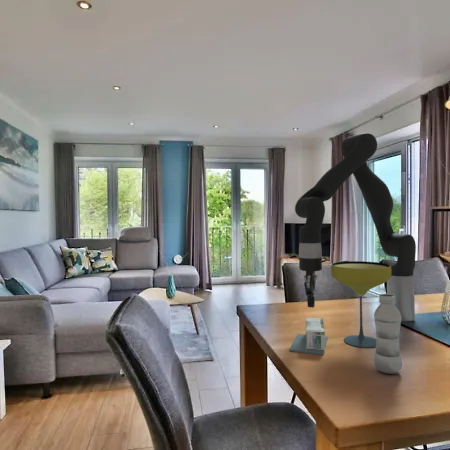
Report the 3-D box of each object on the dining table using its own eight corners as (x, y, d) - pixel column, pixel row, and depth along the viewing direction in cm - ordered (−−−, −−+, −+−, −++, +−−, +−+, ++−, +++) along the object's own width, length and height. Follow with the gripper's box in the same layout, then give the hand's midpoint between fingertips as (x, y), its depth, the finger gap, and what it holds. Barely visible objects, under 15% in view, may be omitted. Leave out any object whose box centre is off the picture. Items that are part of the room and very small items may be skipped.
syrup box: (322, 334, 119) (326, 350, 105) (305, 333, 120) (306, 349, 106) (322, 318, 119) (325, 331, 105) (305, 317, 120) (305, 330, 106)
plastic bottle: (369, 367, 94) (368, 293, 94) (393, 365, 95) (392, 292, 94) (382, 378, 88) (380, 298, 87) (407, 376, 88) (406, 297, 88)
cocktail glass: (370, 330, 123) (369, 260, 123) (405, 349, 105) (404, 267, 105) (322, 334, 120) (321, 262, 120) (350, 355, 102) (348, 270, 102)
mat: (327, 338, 117) (327, 336, 117) (323, 355, 103) (322, 353, 103) (297, 335, 120) (297, 333, 120) (289, 351, 106) (289, 349, 106)
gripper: (319, 258, 111) (320, 312, 111) (323, 254, 123) (324, 303, 124) (295, 258, 114) (296, 311, 114) (302, 253, 126) (303, 301, 126)
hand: (311, 306), depth 119 cm, fingers closed
